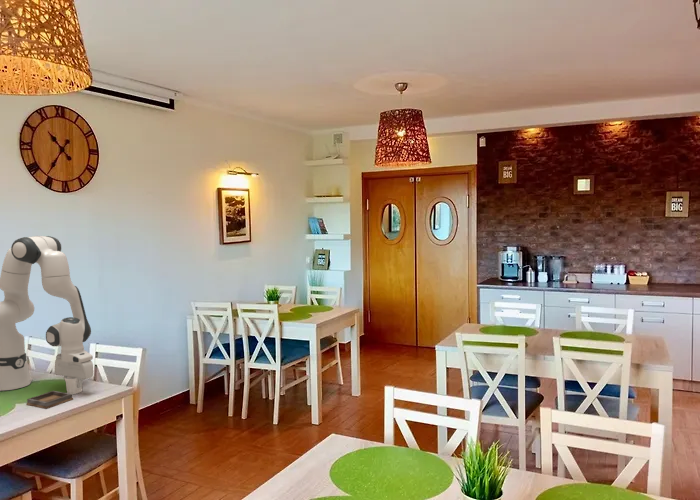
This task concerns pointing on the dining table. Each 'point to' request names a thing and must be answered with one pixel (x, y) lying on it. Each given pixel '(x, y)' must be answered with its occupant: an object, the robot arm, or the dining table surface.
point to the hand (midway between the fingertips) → (74, 386)
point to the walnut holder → (49, 399)
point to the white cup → (72, 385)
